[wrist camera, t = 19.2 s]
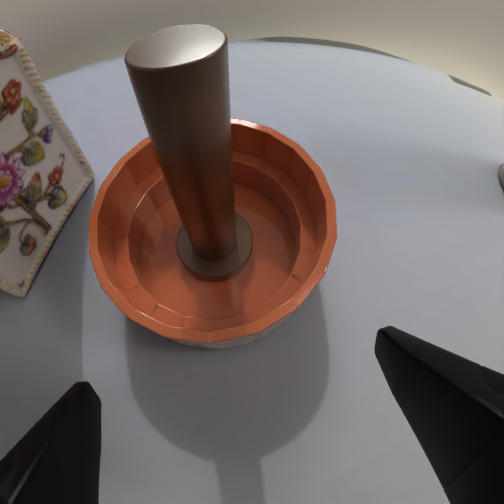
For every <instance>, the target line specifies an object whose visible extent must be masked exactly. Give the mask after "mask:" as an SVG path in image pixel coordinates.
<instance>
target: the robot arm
mask: <svg viewBox="0 0 504 504" xmlns="http://www.w3.org/2000/svg"><path fill="white" fill-rule="evenodd" d="M375 355H376V358H377V360H378V362H379V364H380V367H381V369H382V371H383V373H384V376H385V378H386V380H387V383H388V385H389V387H390V390H391V392H392V394H393V396H394V397H395V399H396V401H397V403H398V405H399V406H400V408H401V410H402V412H403V413H404V415H405V417H406V419H407V421H408V422H409V424H410V426H411V428H412V430H413V431H414V433H415V435H416V437H417V439H418V441H419V443H420V444H421V446H422V448H423V450H424V452H425V454H426V456H427V458H428V459H429V461H430V463H431V465H432V467H433V469H434V471H435V473H436V475H437V477H438V479H439V481H440V483H441V485H442V487H443V488H444V491H445V493H446V495H447V497H448V499H449V502H450V504H504V374H501V373H499V372H496V371H494V370H491V369H489V368H486V367H484V366H481V365H479V364H477V363H475V362H472V361H470V360H468V359H465V358H463V357H461V356H458V355H456V354H454V353H452V352H449V351H447V350H445V349H442V348H440V347H438V346H435V345H433V344H431V343H429V342H426V341H424V340H422V339H419V338H417V337H415V336H413V335H410V334H408V333H406V332H404V331H401V330H399V329H397V328H394V327H392V326H387V327H384V328H381V329H379V330H378V332H377V337H376V343H375ZM100 455H101V401H100V398H99V397H98V395H97V394H96V392H95V391H94V389H93V388H92V386H91V385H90V383H88V382H86V381H84V382H76V383H75V384H74V385H73V386H72V387H71V388H70V389H69V390H68V391H67V392H66V393H65V394H64V395H63V396H62V397H61V398H60V399H59V400H58V401H57V402H56V403H55V404H54V405H53V406H52V407H51V408H50V409H49V410H48V411H47V412H46V413H45V414H44V415H43V416H42V418H41V419H40V420H39V421H38V422H37V423H36V424H35V425H34V426H33V427H32V428H31V429H30V430H29V431H28V432H27V433H26V434H25V435H24V436H23V438H22V439H21V440H20V441H19V442H18V443H17V444H16V445H15V446H14V447H13V449H11V450H10V451H9V453H8V454H7V455H6V456H5V457H4V458H3V459H2V460H1V461H0V504H98V499H99V471H100Z"/></svg>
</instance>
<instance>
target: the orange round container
mask: <svg viewBox="0 0 504 504" xmlns="http://www.w3.org/2000/svg"><path fill="white" fill-rule="evenodd" d="M231 139H232V160H233V180H234V199H235V212H236V213H238V214H239V215H240V216H242V217H243V218H244V219H245V221H246V222H247V223H248V225H249V227H250V229H251V232H252V238H253V244H252V253H251V257H250V260H249V262H248V263H247V265H246V266H245V268H244V269H243V270H242V271H241V272H240V273H239V274H237V275H236V276H234V277H232V278H230V279H228V280H224V281H219V282H210V281H205V280H201V279H199V278H197V277H195V276H194V275H192V274H191V273H190V272H189V271H188V270H187V269H186V268H185V266H184V265H183V263H182V261H181V259H180V258H179V255H178V252H177V245H176V243H177V235H178V232H179V230H180V228H181V226H182V225H183V224H182V221H181V219H180V216H179V214H178V211H177V209H176V206H175V204H174V201H173V199H172V196H171V193H170V191H169V188H168V186H167V183H166V180H165V178H164V175H163V172H162V170H161V167H160V164H159V162H158V159H157V156H156V154H155V151H154V148H153V145H152V142H151V140H150V137H147V138H146V139H144V140H143V141H141V142H140V143H139V144H138V145H136V146H135V147H134V148H133V149H131V150H130V151H129V152H128V153H127V154H125V155H124V156H123V157H122V158H121V159H120V160H119V161H118V162H117V164H116V165H115V166H114V168H113V169H112V171H111V172H110V173H109V175H108V176H107V178H106V179H105V180H104V182H103V183H102V185H101V187H100V189H99V191H98V194H97V197H96V200H95V203H94V206H93V209H92V212H91V215H90V219H89V254H90V257H91V260H92V263H93V266H94V269H95V272H96V275H97V277H98V280H99V283H100V285H101V287H102V289H103V290H104V291H105V293H106V294H107V295H108V296H109V297H110V299H111V300H112V301H113V302H114V303H115V304H116V305H117V307H118V308H119V309H120V310H121V311H122V312H123V313H124V315H125V316H126V317H128V318H129V319H131V320H133V321H135V322H136V323H138V324H140V325H142V326H144V327H146V328H148V329H149V330H151V331H153V332H155V333H157V334H159V335H161V336H163V337H165V338H168V339H171V340H173V341H176V342H179V343H182V344H185V345H188V346H196V347H204V348H213V349H225V348H229V347H234V346H238V345H243V344H247V343H252V342H254V341H257V340H259V339H260V338H262V337H264V336H265V335H267V334H268V333H270V332H272V331H273V330H275V329H277V328H278V327H280V326H281V325H283V324H284V323H285V322H286V321H287V320H288V319H289V318H290V317H291V316H292V315H293V314H294V312H295V311H296V310H297V309H298V308H299V307H300V306H301V304H302V303H303V302H304V301H305V300H306V298H307V297H308V296H309V294H310V293H311V292H312V291H313V289H314V288H315V287H316V286H317V284H318V283H319V282H320V280H321V279H322V278H323V277H324V275H325V273H326V270H327V267H328V264H329V261H330V258H331V255H332V252H333V249H334V245H335V242H336V239H337V224H336V207H335V200H334V197H333V195H332V192H331V190H330V188H329V185H328V183H327V181H326V178H325V176H324V174H323V172H322V170H321V168H320V167H319V166H318V165H317V164H316V163H315V162H314V160H313V159H312V158H311V157H310V156H309V155H308V154H307V153H306V151H305V150H304V149H303V148H302V147H301V146H299V144H297V143H295V142H294V141H292V140H291V139H289V138H287V137H286V136H284V135H282V134H281V133H279V132H278V131H276V130H274V129H272V128H270V127H266V126H263V125H260V124H256V123H253V122H249V121H246V120H242V119H231Z"/></svg>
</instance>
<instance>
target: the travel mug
mask: <svg viewBox="0 0 504 504" xmlns="http://www.w3.org/2000/svg"><path fill="white" fill-rule="evenodd" d="M499 178H500V182H501V184H502V187H503V189H504V163H503V164H502V165H501V166H500V168H499Z"/></svg>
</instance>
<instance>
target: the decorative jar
mask: <svg viewBox="0 0 504 504" xmlns="http://www.w3.org/2000/svg"><path fill="white" fill-rule="evenodd" d="M93 178H94V173H93V170H92V168H91V166H90V164H89V163H88V161H87V159H86V157H85V156H84V154H83V152H82V150H81V149H80V147H79V145H78V143H77V141H76V140H75V138H74V136H73V135H72V133H71V132H70V130H69V128H68V126H67V125H66V123H65V122H64V120H63V118H62V117H61V115H60V113H59V112H58V110H57V108H56V106H55V104H54V103H53V101H52V98H51V97H50V95H49V93H48V91H47V90H46V87H45V86H44V83H43V81H42V80H41V78H40V76H39V74H38V72H37V70H36V68H35V67H34V65H33V63H32V61H31V59H30V57H29V55H28V53H27V51H26V49H25V48H24V46H23V45H22V41H21V39H16V38H15V37H14V36H13V35H12V34H11V33H9V32H7V31H5V30H1V29H0V289H1V290H2V291H5V292H7V293H9V294H12V295H14V296H17V297H25V296H26V294H27V291H28V289H29V287H30V285H31V283H32V281H33V278H34V276H35V275H36V273H37V271H38V269H39V267H40V265H41V264H42V262H43V260H44V258H45V256H46V254H47V252H48V250H49V249H50V247H51V245H52V244H53V242H54V240H55V238H56V236H57V235H58V233H59V231H60V230H61V228H62V226H63V224H64V223H65V221H66V219H67V217H68V216H69V214H70V213H71V211H72V209H73V208H74V206H75V205H76V203H77V202H78V200H79V199H80V197H81V196H82V194H83V193H84V191H85V190H86V188H87V187H88V186H89V184H90V183H91V181H92V180H93Z"/></svg>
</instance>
